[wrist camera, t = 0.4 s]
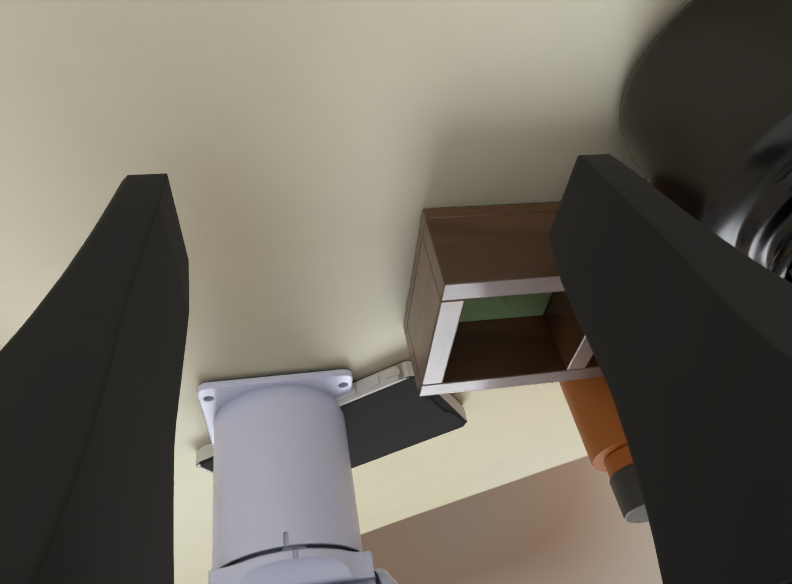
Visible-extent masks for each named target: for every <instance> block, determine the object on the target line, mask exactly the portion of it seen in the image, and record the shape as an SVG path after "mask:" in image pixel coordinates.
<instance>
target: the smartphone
mask: <svg viewBox="0 0 792 584" xmlns="http://www.w3.org/2000/svg"><path fill="white" fill-rule="evenodd" d="M336 401H337V402H338V406H340V408H341V410H342V411H343V413H344V418H345V426H346V433H347V441H348V448H349V455H350V463H351V468H354V467H357V466H359V465H362V464H364V463H367V462H370V461H372V460H375V459H378V458H380V457H383V456H386V455H388V454H391V453H394V452H396V451H399V450H402V449H404V448H407V447H410V446H412V445H415V444H418V443H420V442H423V441H426V440H428V439H431V438H434V437H436V436H439V435H442V434H444V433H447V432H450V431H452V430H455V429H458V428H460V427H463V426H464V425H465V423H466V422H467V418H466V415H465V411H464V407H463V406H462V405H461V404H460V403H459V402H458V401H457V400H456V399H455V398H454V397H453V396H452V395H451V394H450V393H447V394H438V395H428V396H419V394H418V389H417V385H416V381H415V376H414V372H413V367H412V363H411V361H404V362H402V363H399V364H397V365H394V366H392V367H390V368H387V369H385V370H382V371H380V372H378V373H375V374H373V375H370V376H368V377H366V378H363V379H361V380H358V381H356V382H354V383H352V391H351V392H348V393H346V394H344V395H341V396H339V397H337V398H336ZM196 466H197V467H199V468H201V469H204V470H206V471H208V472H211V473H213V470H214V449H213V446H212V443H209V444H207V445H205V446H203V447H200V448H199V449H198V450H197V451H196Z"/></svg>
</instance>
